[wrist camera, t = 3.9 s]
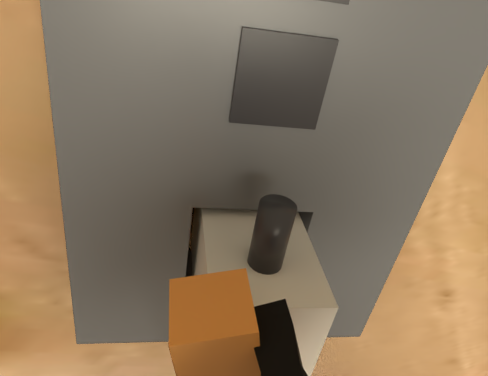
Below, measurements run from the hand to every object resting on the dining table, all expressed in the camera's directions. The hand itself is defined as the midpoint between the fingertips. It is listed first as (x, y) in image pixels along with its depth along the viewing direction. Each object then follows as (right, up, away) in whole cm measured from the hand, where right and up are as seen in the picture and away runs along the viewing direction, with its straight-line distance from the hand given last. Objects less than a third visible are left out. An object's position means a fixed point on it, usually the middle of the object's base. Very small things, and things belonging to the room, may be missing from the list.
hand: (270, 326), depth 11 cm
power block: (0, +6, +6) cm, 9 cm away
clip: (-2, +1, +9) cm, 9 cm away
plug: (-1, +4, +8) cm, 9 cm away
